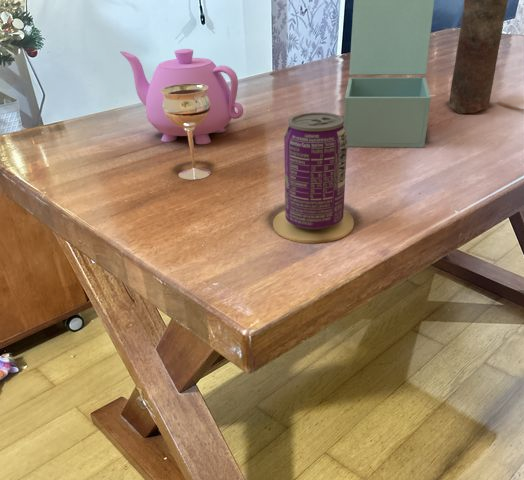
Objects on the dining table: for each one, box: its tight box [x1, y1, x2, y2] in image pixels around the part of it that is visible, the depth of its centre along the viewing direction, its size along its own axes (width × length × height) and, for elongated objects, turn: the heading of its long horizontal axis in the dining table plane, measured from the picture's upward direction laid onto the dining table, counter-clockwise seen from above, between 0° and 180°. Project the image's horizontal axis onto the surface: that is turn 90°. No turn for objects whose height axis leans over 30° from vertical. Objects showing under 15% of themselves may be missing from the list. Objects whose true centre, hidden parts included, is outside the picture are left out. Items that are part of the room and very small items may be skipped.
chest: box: [343, 76, 432, 149], centre depth 92 cm, size 14×13×8 cm
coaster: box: [272, 210, 355, 244], centre depth 67 cm, size 10×10×1 cm
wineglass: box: [161, 83, 212, 181], centre depth 79 cm, size 7×7×12 cm
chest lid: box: [348, 0, 435, 76], centre depth 94 cm, size 15×13×4 cm
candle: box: [448, 0, 509, 115], centre depth 98 cm, size 8×7×20 cm
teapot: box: [119, 48, 244, 145], centre depth 94 cm, size 22×16×14 cm
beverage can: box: [283, 111, 348, 230], centre depth 63 cm, size 7×7×12 cm
